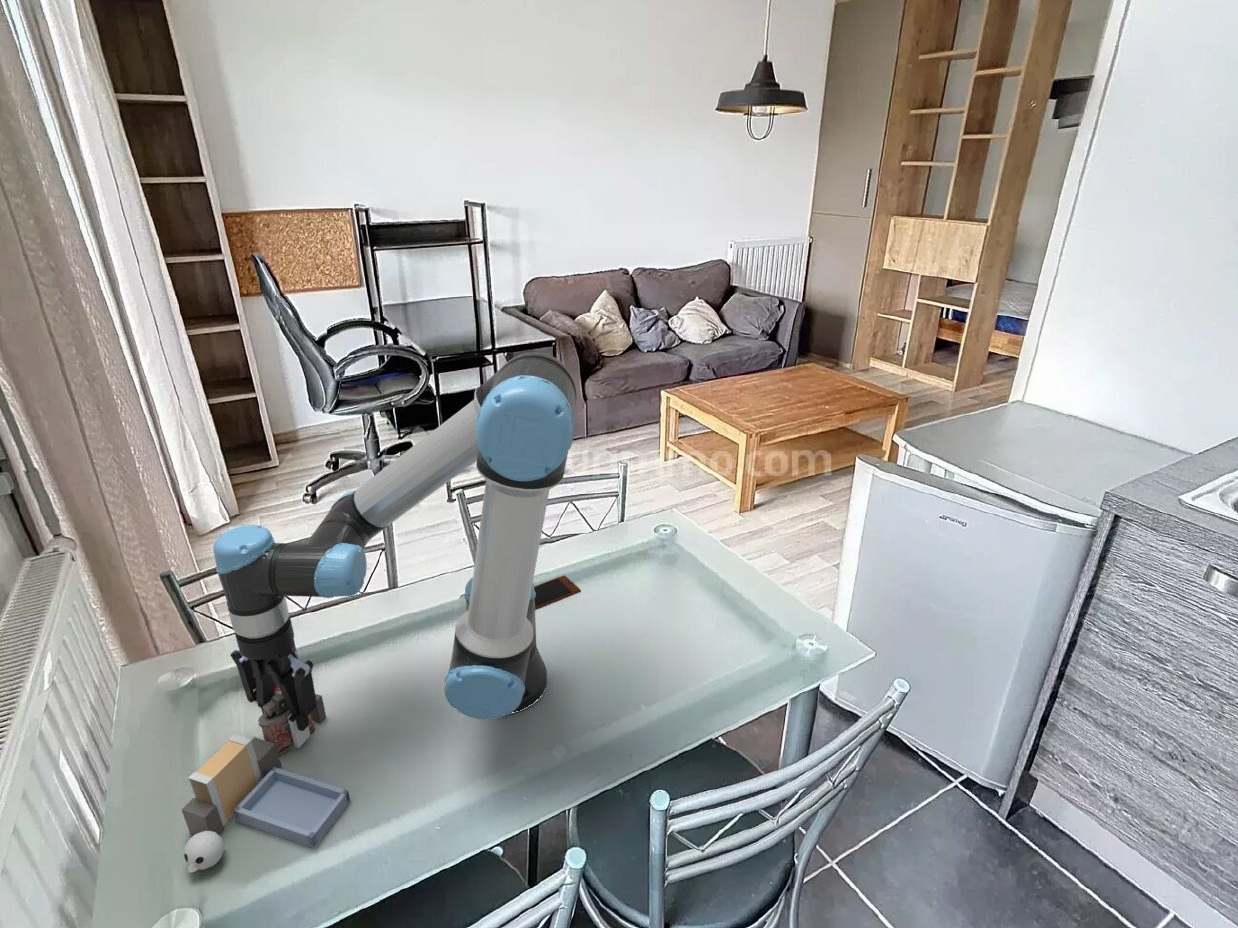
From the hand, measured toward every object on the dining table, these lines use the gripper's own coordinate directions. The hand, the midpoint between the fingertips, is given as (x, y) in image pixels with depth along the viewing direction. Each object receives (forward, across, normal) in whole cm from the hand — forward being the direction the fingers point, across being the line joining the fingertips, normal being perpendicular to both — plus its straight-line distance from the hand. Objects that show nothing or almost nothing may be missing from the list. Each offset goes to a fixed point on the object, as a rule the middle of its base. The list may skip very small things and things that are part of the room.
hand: (290, 737), depth 111 cm
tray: (+1, -10, +10) cm, 14 cm away
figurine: (+1, -4, +21) cm, 21 cm away
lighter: (+1, 0, 0) cm, 1 cm away
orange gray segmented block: (+1, 0, +6) cm, 6 cm away
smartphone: (+1, -24, -50) cm, 56 cm away
